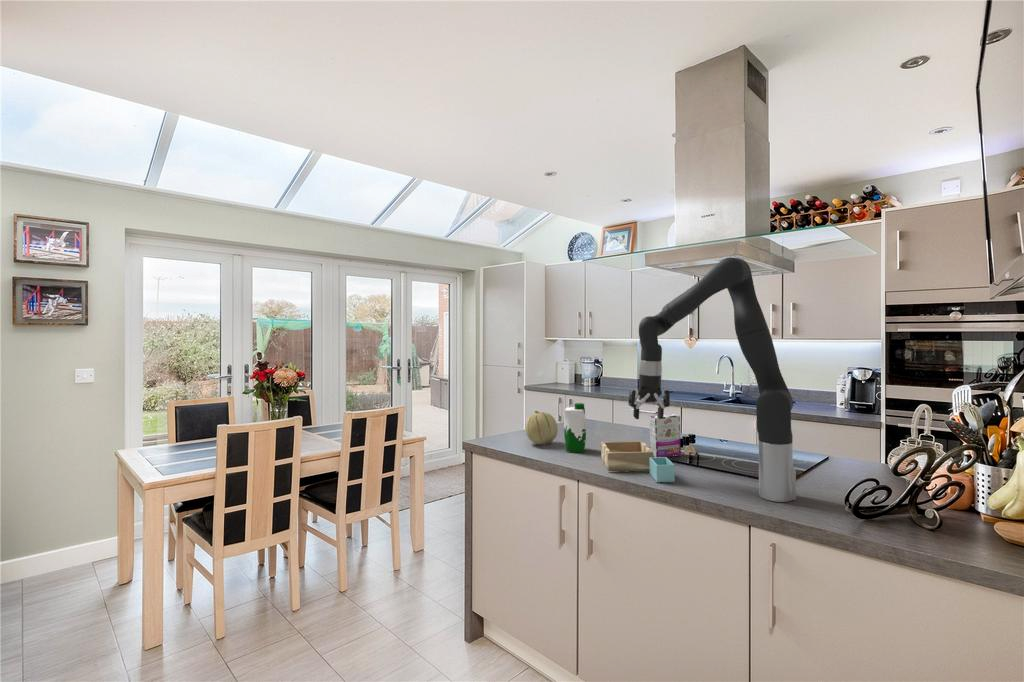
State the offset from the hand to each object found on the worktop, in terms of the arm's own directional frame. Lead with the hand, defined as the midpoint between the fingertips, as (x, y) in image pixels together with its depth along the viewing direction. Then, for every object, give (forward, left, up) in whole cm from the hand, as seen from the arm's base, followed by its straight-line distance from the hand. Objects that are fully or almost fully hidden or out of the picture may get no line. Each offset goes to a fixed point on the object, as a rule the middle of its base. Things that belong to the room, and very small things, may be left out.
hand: (648, 418), depth 182 cm
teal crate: (-3, +4, -20) cm, 21 cm away
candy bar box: (-12, -25, -20) cm, 35 cm away
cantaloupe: (+37, -49, -20) cm, 65 cm away
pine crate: (+6, -13, -20) cm, 25 cm away
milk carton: (+23, -37, -20) cm, 48 cm away
